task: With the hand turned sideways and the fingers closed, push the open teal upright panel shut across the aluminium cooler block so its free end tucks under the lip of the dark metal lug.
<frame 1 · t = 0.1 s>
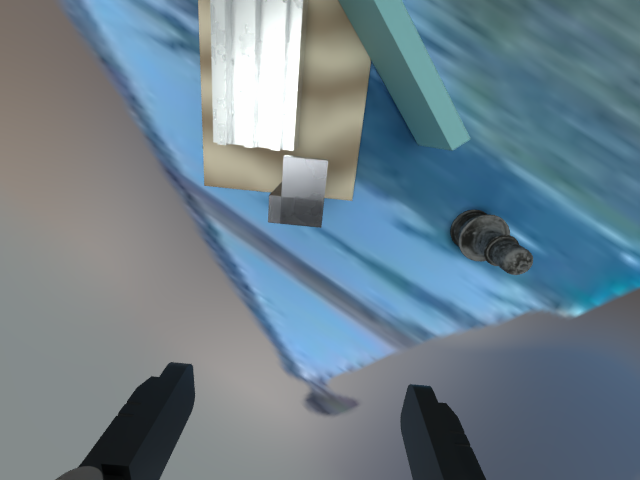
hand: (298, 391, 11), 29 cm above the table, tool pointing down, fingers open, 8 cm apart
chess piece: (470, 229, 39), on the table
teal upright panel: (384, 37, 26), point 7 cm above the table, hinge at 40.0°
cooler block: (265, 76, 32), resting on mounting board
mounting board: (286, 80, 34), on the table
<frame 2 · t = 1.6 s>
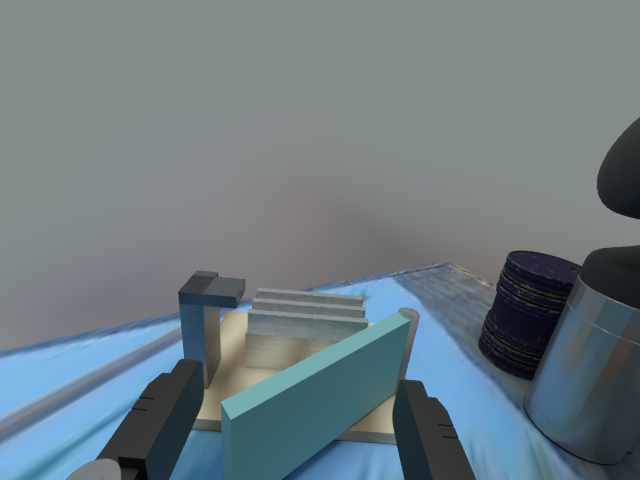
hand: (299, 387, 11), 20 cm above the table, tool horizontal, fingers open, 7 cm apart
teal upright panel: (337, 391, 28), point 7 cm above the table, hinge at 40.0°
storage jar: (513, 356, 45), on the table
cooler block: (305, 349, 40), resting on mounting board
mounting board: (303, 369, 39), on the table
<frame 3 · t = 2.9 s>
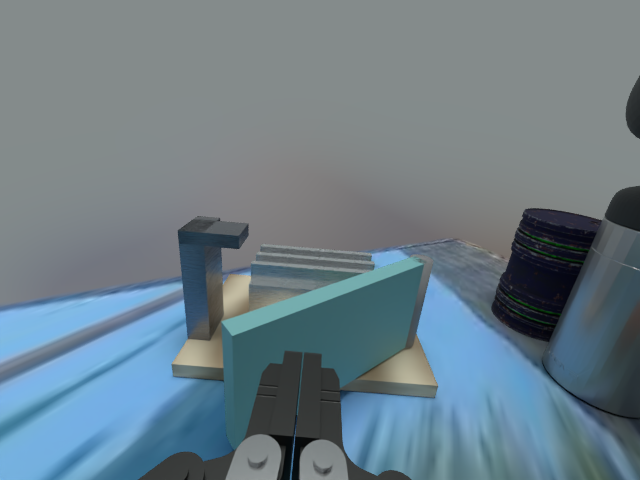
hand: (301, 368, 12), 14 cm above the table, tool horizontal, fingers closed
teal upright panel: (346, 334, 26), point 7 cm above the table, hinge at 40.0°
storage jar: (528, 320, 43), on the table
cooler block: (311, 307, 39), resting on mounting board
mounting board: (309, 327, 37), on the table
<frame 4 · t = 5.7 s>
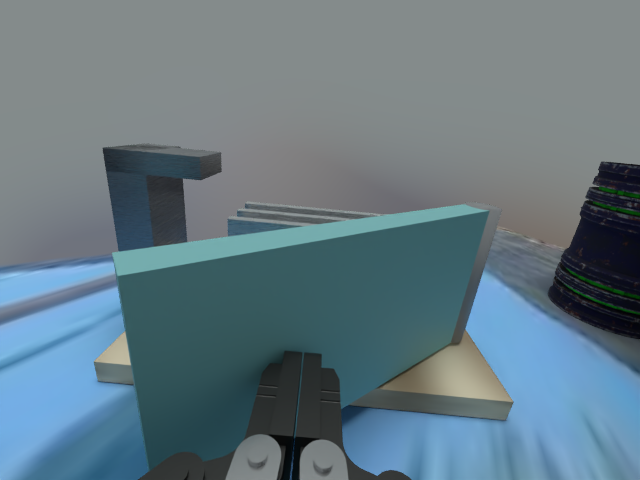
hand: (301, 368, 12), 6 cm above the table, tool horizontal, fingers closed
teal upright panel: (368, 312, 16), point 7 cm above the table, hinge at 38.1°
storage jar: (600, 311, 33), on the table
cooler block: (313, 288, 28), resting on mounting board
mounting board: (310, 314, 27), on the table
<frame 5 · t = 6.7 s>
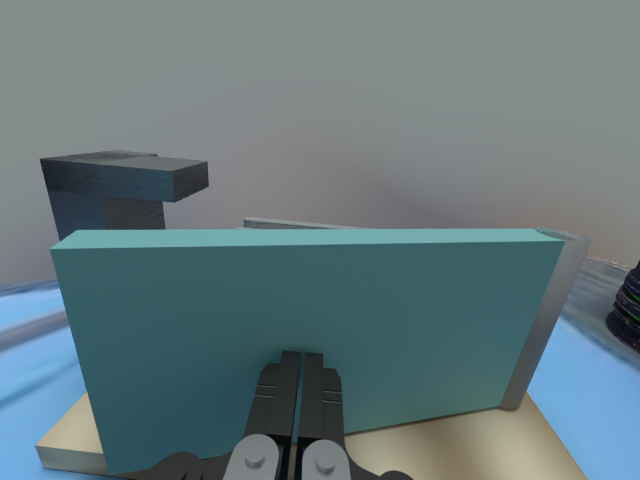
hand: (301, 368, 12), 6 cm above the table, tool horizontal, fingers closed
teal upright panel: (361, 338, 14), point 7 cm above the table, hinge at 17.1°, touching gripper
cooler block: (326, 323, 23), resting on mounting board
mounting board: (323, 357, 22), on the table
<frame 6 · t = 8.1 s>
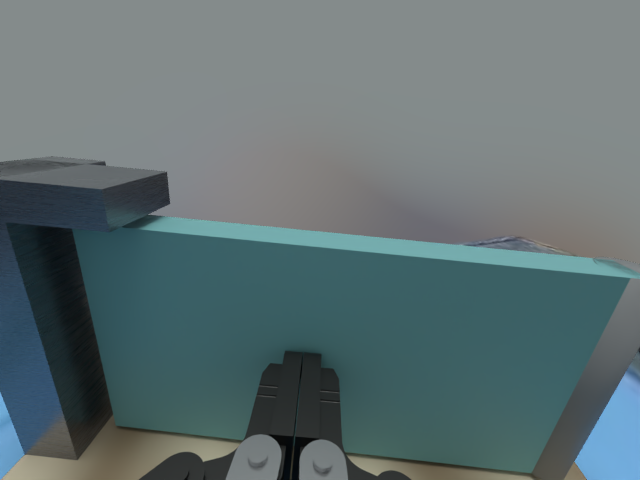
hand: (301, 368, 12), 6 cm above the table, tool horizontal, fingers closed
teal upright panel: (352, 352, 13), point 7 cm above the table, hinge at -0.2°, touching gripper
cooler block: (322, 358, 20), resting on mounting board
mounting board: (319, 402, 18), on the table
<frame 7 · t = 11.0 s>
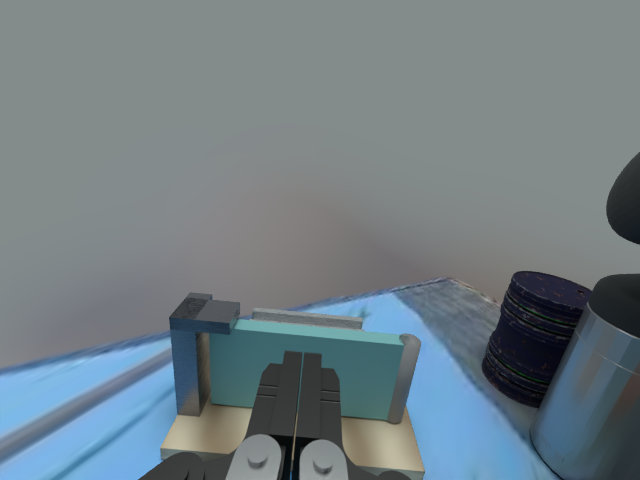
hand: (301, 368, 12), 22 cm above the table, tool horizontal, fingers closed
teal upright panel: (312, 370, 32), point 7 cm above the table, hinge at -0.2°
storage jar: (517, 380, 44), on the table
cooler block: (302, 372, 39), resting on mounting board
mounting board: (300, 393, 37), on the table
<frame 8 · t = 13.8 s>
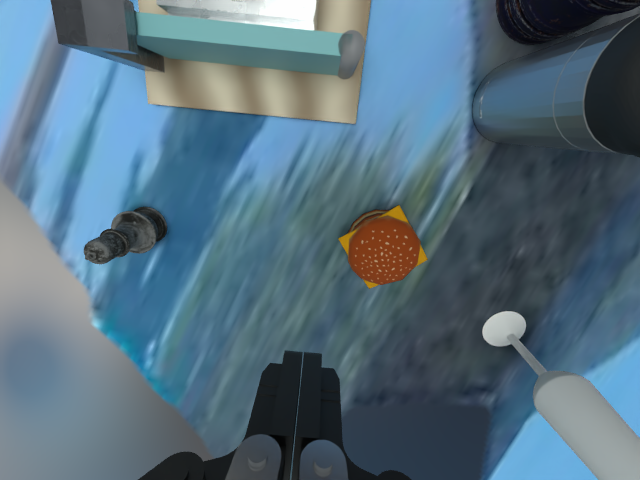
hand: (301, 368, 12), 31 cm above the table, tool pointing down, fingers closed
hamburger: (378, 239, 43), on the table
chess piece: (149, 224, 43), on the table
teal upright panel: (251, 48, 29), point 7 cm above the table, hinge at -0.2°
champagne flute: (503, 328, 48), on the table
cooler block: (253, 3, 33), resting on mounting board
mounting board: (256, 29, 35), on the table
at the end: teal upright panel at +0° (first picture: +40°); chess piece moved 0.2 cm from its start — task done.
